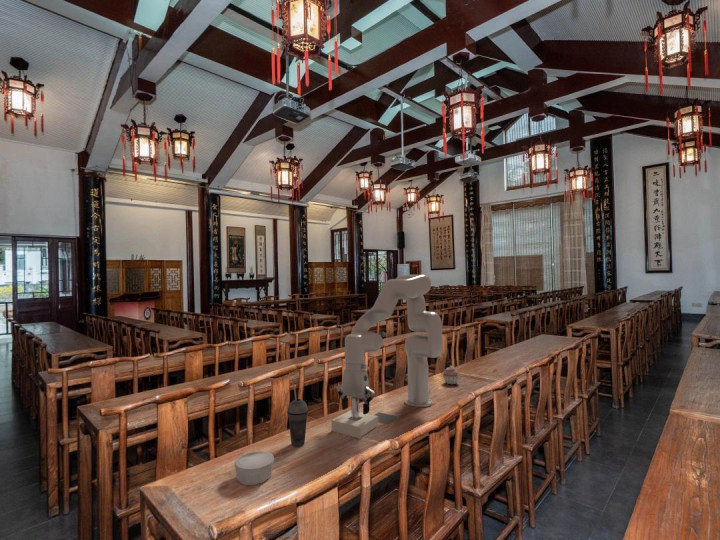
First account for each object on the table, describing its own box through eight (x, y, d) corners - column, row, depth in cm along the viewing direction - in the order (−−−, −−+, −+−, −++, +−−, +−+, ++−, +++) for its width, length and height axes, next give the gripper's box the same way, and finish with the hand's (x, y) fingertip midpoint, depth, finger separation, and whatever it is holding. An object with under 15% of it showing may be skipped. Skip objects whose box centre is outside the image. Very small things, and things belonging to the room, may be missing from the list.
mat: (378, 413, 161) (378, 412, 161) (399, 417, 156) (399, 416, 156) (366, 420, 153) (366, 419, 153) (388, 425, 147) (388, 424, 147)
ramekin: (259, 464, 118) (259, 447, 118) (282, 475, 111) (282, 457, 111) (226, 479, 109) (226, 460, 109) (249, 492, 102) (249, 473, 102)
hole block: (350, 419, 154) (350, 410, 154) (378, 426, 147) (378, 416, 147) (331, 430, 143) (331, 420, 143) (360, 438, 136) (360, 427, 136)
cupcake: (441, 381, 211) (441, 363, 211) (459, 381, 209) (458, 363, 210) (442, 385, 202) (442, 366, 202) (460, 386, 200) (460, 367, 200)
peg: (354, 426, 147) (354, 395, 147) (360, 428, 145) (360, 396, 146) (349, 429, 144) (349, 397, 145) (356, 430, 143) (356, 399, 143)
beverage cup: (304, 449, 127) (303, 390, 128) (284, 448, 129) (283, 389, 129) (311, 440, 134) (310, 384, 135) (292, 439, 136) (291, 383, 136)
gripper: (379, 367, 144) (379, 412, 144) (342, 362, 153) (342, 404, 153) (368, 371, 138) (369, 418, 137) (331, 366, 147) (331, 410, 147)
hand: (355, 411), depth 145 cm, fingers open, 9 cm apart
